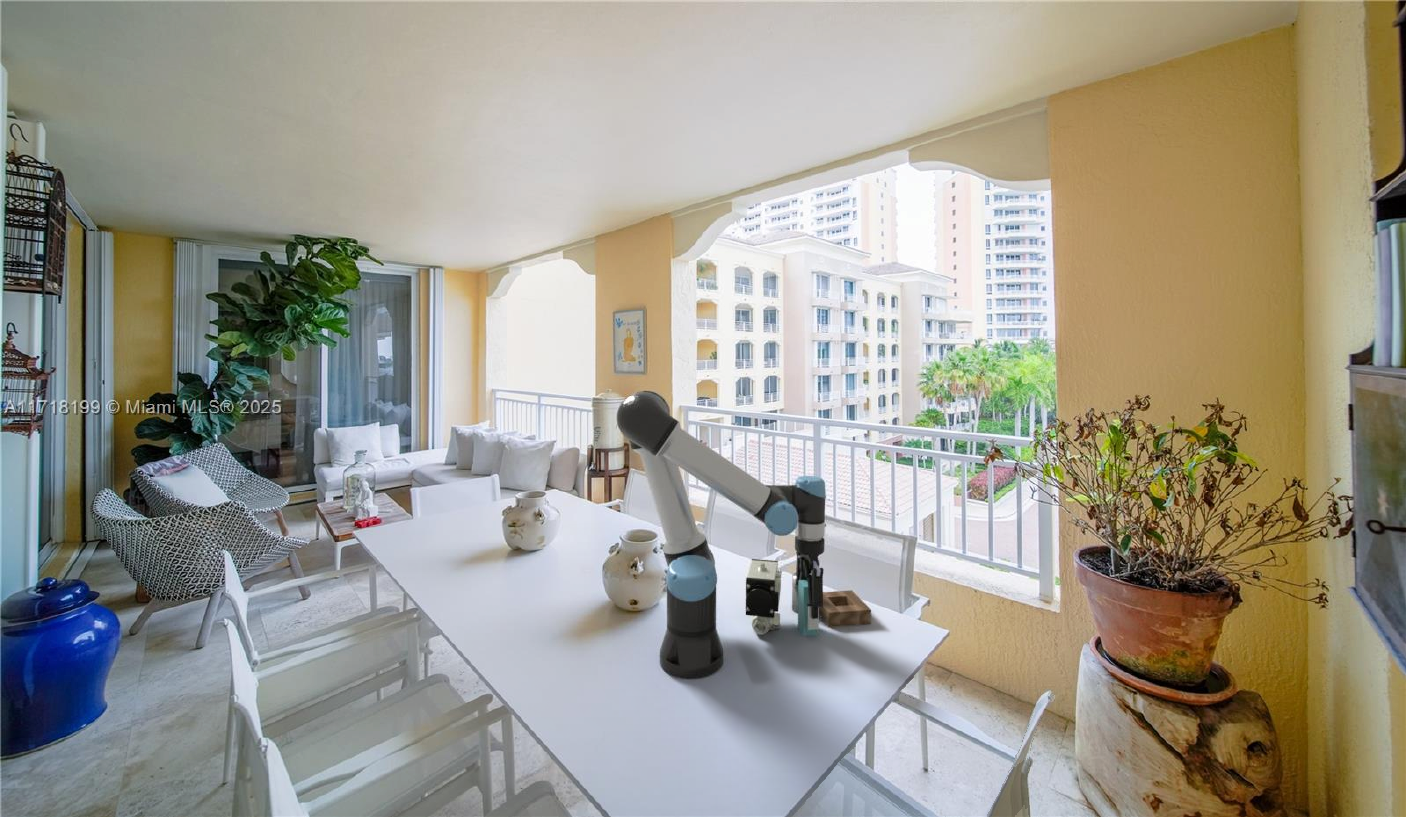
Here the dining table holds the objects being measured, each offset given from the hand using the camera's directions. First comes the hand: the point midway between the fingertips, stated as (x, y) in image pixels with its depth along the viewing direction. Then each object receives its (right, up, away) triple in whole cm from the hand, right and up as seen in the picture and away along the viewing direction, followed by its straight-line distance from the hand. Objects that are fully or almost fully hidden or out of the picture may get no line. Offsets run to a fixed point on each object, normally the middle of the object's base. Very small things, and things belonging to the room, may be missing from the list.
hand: (808, 621), depth 136 cm
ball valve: (-11, -3, +2) cm, 12 cm away
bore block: (+11, -2, +9) cm, 14 cm away
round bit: (0, -1, +12) cm, 12 cm away
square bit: (0, -2, 0) cm, 2 cm away
